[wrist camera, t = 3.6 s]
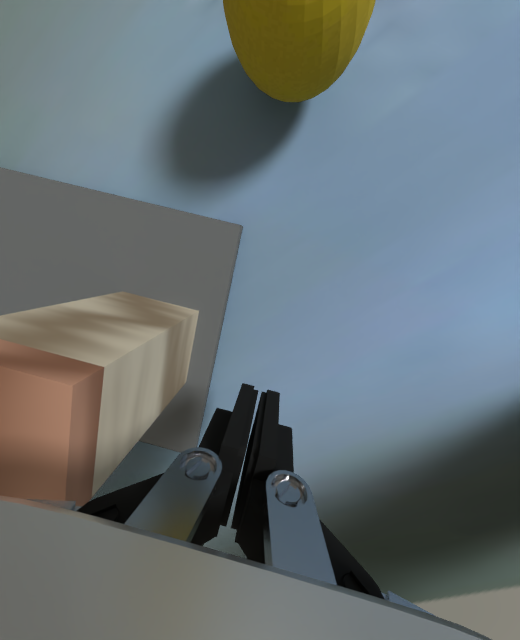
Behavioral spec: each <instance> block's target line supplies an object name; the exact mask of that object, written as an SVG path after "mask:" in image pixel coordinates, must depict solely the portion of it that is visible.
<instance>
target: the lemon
mask: <svg viewBox="0 0 520 640" xmlns="http://www.w3.org/2000/svg"><path fill="white" fill-rule="evenodd" d="M374 5H375V0H223V6H224V12H225V17H226V21H227V25H228V29H229V33H230V38H231V41H232V45H233V47H234V50H235V52H236V54H237V56H238V58H239V60H240V62H241V65H242V67H243V69H244V70H245V72H246V74H247V75H248V77H249V78H250V79H251V80H252V81H253V82H254V84H255V85H256V86H257V87H258V88H259V89H260V90H261V91H263V92H264V93H266V94H267V95H269V96H270V97H272V98H274V99H277V100H280V101H283V102H301V101H304V100H308V99H311V98H313V97H315V96H317V95H318V94H320V93H322V92H323V91H325V90H326V89H328V88H329V87H330V86H331V85H332V84H333V83H334V82H335V81H336V80H337V79H338V78H339V77H340V76H341V74H342V73H343V72H344V70H345V69H346V67H347V66H348V64H349V62H350V61H351V59H352V58H353V56H354V55H355V53H356V51H357V49H358V47H359V45H360V43H361V41H362V38H363V35H364V33H365V30H366V28H367V25H368V23H369V20H370V17H371V15H372V12H373V8H374Z"/></svg>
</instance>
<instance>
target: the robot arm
mask: <svg viewBox="0 0 520 640" xmlns="http://www.w3.org/2000/svg"><path fill="white" fill-rule="evenodd" d="M257 395H258V390H254V386H252V385H248V384H244V383H242V386H241V389H240V392H239V395H238V398H237V401H236V404H235V406H234V409H233V412H231V411H227V410H223V409H220V408H217V409H216V410H215V413H214V415H213V417H212V419H211V421H210V423H209V426H208V428H207V430H206V432H205V434H204V436H203V439H202V441H201V443H200V445H199V447H194V448H189V449H187V450H185V451H183V452H182V453H180V454H179V455H178V456H177V458H176V459H175V460H174V461H173V463H172V464H171V465H170V466H169V468H168V469H167V470H166V472H165V473H163V474H160V475H157V476H155V477H152V478H149V479H147V480H144V481H141V482H139V483H136V484H133V485H130V486H128V487H125V488H122V489H120V490H117V491H114V492H112V493H109V494H106V495H104V496H101V497H98V498H96V499H94V500H92V501H90V502H87V503H86V504H85V505H83V506H75V503H76V501H62V500H39V499H21V498H15V497H7V496H0V640H491V639H489V638H488V637H486V636H484V635H481V634H479V633H477V632H475V631H472V630H470V629H468V628H466V627H464V626H461V625H459V624H456V623H453V622H450V621H447V620H444V619H442V618H439V617H436V616H434V615H433V614H431V613H429V612H427V611H425V610H423V609H422V608H420V607H418V606H416V605H414V604H412V603H411V602H409V601H407V600H405V599H403V598H401V597H399V596H398V595H396V594H394V593H392V592H390V591H388V592H387V594H386V595H385V594H383V593H381V591H380V589H379V587H378V585H377V584H376V583H375V581H374V580H373V579H372V577H371V576H370V575H369V574H368V573H367V572H366V571H365V570H364V568H363V567H362V566H361V565H360V564H359V563H358V562H357V561H356V560H355V558H354V557H353V556H352V555H351V554H350V553H349V552H348V551H347V549H346V548H345V547H344V546H343V545H342V544H341V543H340V542H339V541H338V539H337V538H336V537H335V536H334V535H333V534H332V533H331V532H330V531H329V529H328V528H327V527H326V526H325V525H324V524H323V523H322V522H321V521H320V519H319V517H318V514H317V510H316V506H315V503H314V499H313V495H312V492H311V490H310V487H309V486H308V484H307V483H306V482H305V480H303V479H302V478H301V477H300V476H299V475H297V474H295V473H294V469H293V444H292V428H291V427H287V426H283V425H280V424H278V421H279V397H280V393H278V392H274V391H271V390H267V393H265V392H262V394H261V397H260V401H259V405H258V409H257V412H256V416H255V420H254V424H253V428H252V431H251V435H250V439H249V434H250V429H251V424H252V419H253V414H254V409H255V404H256V400H257ZM248 439H249V443H248ZM247 443H248V447H247ZM246 448H247V451H246ZM245 452H246V456H245ZM244 456H245V461H244V466H243V471H242V476H241V481H240V486H239V491H238V496H237V501H236V506H235V511H234V516H233V521H232V526H231V528H233V529H236V530H237V532H236V538H235V542H236V543H238V544H239V545H240V547H241V549H242V550H243V552H244V554H245V555H244V558H241V557H238V556H234V555H231V554H227V553H224V552H220V551H217V550H213V549H210V548H207V547H203V545H204V543H206V542H207V541H209V540H211V539H212V538H214V537H217V534H218V530H219V527H220V525H222V526H226V525H227V521H228V517H229V514H230V510H231V506H232V502H233V498H234V495H235V491H236V487H237V483H238V479H239V476H240V472H241V468H242V464H243V460H244Z"/></svg>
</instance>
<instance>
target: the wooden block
mask: <svg viewBox="0 0 520 640" xmlns="http://www.w3.org/2000/svg"><path fill="white" fill-rule="evenodd" d="M198 314H199V311H197V310H193V309H189V308H186V307H182V306H178V305H174V304H170V303H166V302H162V301H158V300H154V299H150V298H146V297H143V296H139V295H135V294H131V293H127V292H123V291H122V292H117V293H112V294H107V295H102V296H97V297H92V298H87V299H82V300H77V301H72V302H67V303H62V304H57V305H52V306H46V307H41V308H36V309H31V310H26V311H21V312H16V313H11V314H6V315H1V316H0V496H7V497H15V498H21V499H39V500H62V501H76V503H75V506H83V505H85V504H86V503H87V502H89V501H90V499H91V498H92V497H93V496H94V495H95V493H96V492H97V491H98V490H99V488H100V487H101V486H102V485H103V483H104V482H105V481H106V480H107V479H108V477H109V476H110V475H111V474H112V472H113V471H114V470H115V469H116V468H117V466H118V465H119V464H120V463H121V461H122V460H123V459H124V458H125V456H126V455H127V454H128V453H129V452H130V450H131V449H132V448H133V447H134V445H135V444H136V443H137V442H138V441H139V439H140V438H141V437H142V436H143V434H144V433H145V432H146V431H147V430H148V428H149V427H150V426H151V425H152V423H153V422H154V421H155V420H156V418H157V417H158V416H159V415H160V414H161V412H162V411H163V410H164V409H165V407H166V406H167V405H168V404H169V403H170V401H171V400H172V399H173V398H174V396H175V395H176V394H177V393H178V391H179V390H180V389H181V388H182V387H183V385H184V384H185V383H186V379H187V374H188V368H189V363H190V358H191V352H192V347H193V341H194V336H195V330H196V325H197V319H198Z"/></svg>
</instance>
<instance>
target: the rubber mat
mask: <svg viewBox="0 0 520 640" xmlns="http://www.w3.org/2000/svg"><path fill="white" fill-rule="evenodd" d="M242 229H243V226H241V225H238V224H233V223H229V222H225V221H221V220H217V219H213V218H208V217H204V216H200V215H196V214H192V213H188V212H184V211H179V210H175V209H171V208H167V207H163V206H159V205H154V204H150V203H146V202H142V201H138V200H134V199H129V198H125V197H121V196H117V195H113V194H109V193H104V192H100V191H96V190H92V189H88V188H84V187H80V186H75V185H71V184H67V183H63V182H59V181H55V180H50V179H46V178H42V177H38V176H34V175H30V174H25V173H21V172H17V171H13V170H9V169H5V168H1V167H0V316H1V315H6V314H11V313H16V312H21V311H26V310H31V309H36V308H41V307H46V306H52V305H57V304H62V303H67V302H72V301H77V300H82V299H87V298H92V297H97V296H102V295H107V294H112V293H117V292H122V291H123V292H127V293H131V294H135V295H139V296H143V297H146V298H150V299H154V300H158V301H162V302H166V303H170V304H174V305H178V306H182V307H186V308H189V309H193V310H197V311H199V314H198V319H197V325H196V330H195V336H194V341H193V347H192V352H191V358H190V363H189V368H188V374H187V379H186V383H185V384H184V385H183V387H182V388H181V389H180V390H179V391H178V393H177V394H176V395H175V396H174V398H173V399H172V400H171V401H170V403H169V404H168V405H167V406H166V407H165V409H164V410H163V411H162V412H161V414H160V415H159V416H158V417H157V418H156V420H155V421H154V422H153V423H152V425H151V426H150V427H149V428H148V430H147V431H146V432H145V433H144V434H143V436H142V437H141V438H140V439H139V441H141V442H145V443H149V444H152V445H156V446H159V447H163V448H167V449H170V450H174V451H177V452H181V453H182V452H183V451H185V450H187V449H189V448H194V447H197V444H198V440H199V435H200V430H201V425H202V420H203V416H204V411H205V406H206V401H207V396H208V392H209V387H210V382H211V377H212V372H213V368H214V363H215V358H216V353H217V349H218V344H219V339H220V334H221V329H222V325H223V320H224V315H225V310H226V305H227V301H228V296H229V291H230V286H231V281H232V277H233V272H234V267H235V262H236V258H237V253H238V248H239V243H240V238H241V234H242Z"/></svg>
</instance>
